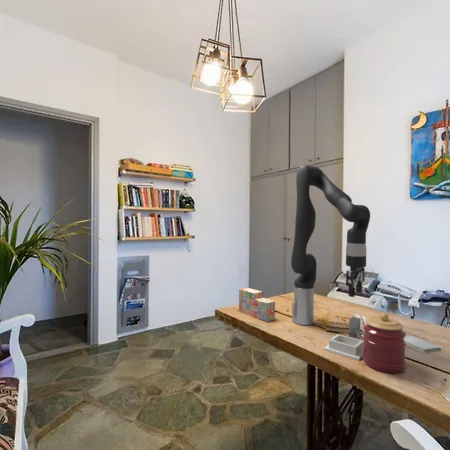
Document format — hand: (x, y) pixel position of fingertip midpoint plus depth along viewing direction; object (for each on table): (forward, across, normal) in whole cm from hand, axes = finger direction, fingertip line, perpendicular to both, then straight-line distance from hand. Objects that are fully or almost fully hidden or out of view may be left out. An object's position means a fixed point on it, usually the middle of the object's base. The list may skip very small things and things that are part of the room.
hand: (355, 294), depth 120 cm
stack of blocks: (+20, -2, -50) cm, 54 cm away
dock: (+20, +9, 0) cm, 22 cm away
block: (+20, 0, +2) cm, 20 cm away
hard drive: (+20, -16, +19) cm, 32 cm away
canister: (+20, +12, +14) cm, 27 cm away
